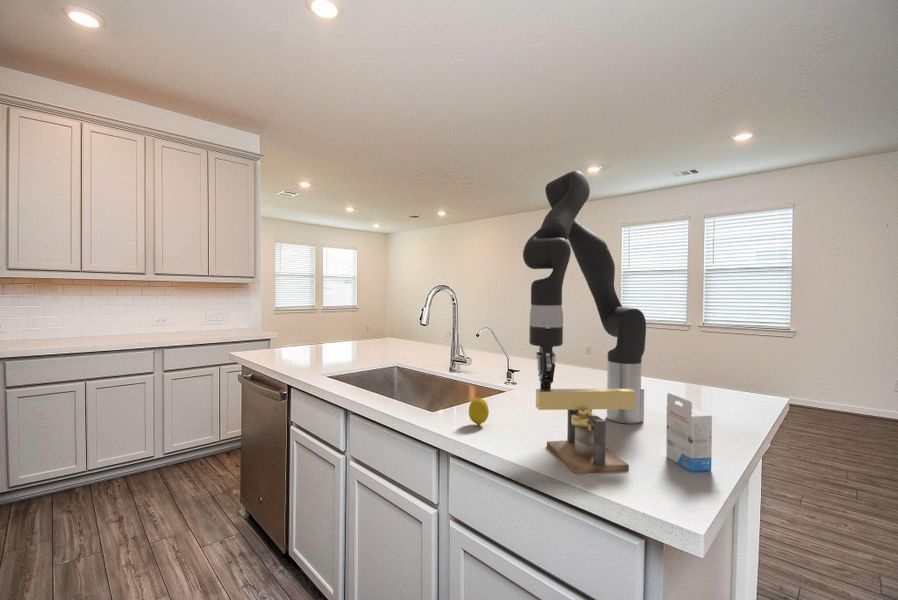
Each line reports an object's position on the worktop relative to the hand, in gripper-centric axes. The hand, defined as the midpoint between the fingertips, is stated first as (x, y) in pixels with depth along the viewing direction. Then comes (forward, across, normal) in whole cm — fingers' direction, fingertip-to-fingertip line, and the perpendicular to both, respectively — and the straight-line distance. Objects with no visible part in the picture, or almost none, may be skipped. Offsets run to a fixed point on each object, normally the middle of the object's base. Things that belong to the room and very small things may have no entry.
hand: (545, 398), depth 94 cm
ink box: (+13, +2, +30) cm, 33 cm away
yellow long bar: (+5, +2, +9) cm, 10 cm away
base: (+13, +2, +9) cm, 15 cm away
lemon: (+13, -17, -16) cm, 27 cm away
